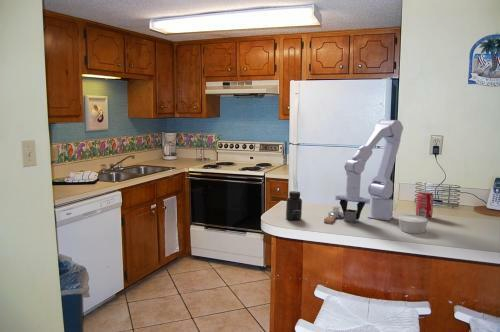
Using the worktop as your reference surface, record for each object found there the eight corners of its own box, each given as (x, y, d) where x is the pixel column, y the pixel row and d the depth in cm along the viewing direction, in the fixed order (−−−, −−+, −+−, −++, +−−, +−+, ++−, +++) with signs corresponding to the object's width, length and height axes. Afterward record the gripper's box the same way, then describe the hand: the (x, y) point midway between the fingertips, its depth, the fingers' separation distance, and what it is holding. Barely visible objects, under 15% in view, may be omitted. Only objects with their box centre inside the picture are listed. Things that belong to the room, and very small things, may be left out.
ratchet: (330, 213, 193) (331, 204, 192) (345, 215, 190) (346, 206, 189) (319, 222, 179) (319, 211, 178) (335, 224, 175) (335, 214, 175)
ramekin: (400, 234, 164) (401, 221, 163) (394, 226, 175) (395, 213, 174) (430, 235, 163) (431, 222, 162) (422, 227, 173) (423, 215, 173)
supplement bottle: (296, 221, 178) (297, 194, 177) (282, 219, 182) (283, 192, 181) (304, 218, 184) (305, 192, 182) (291, 215, 188) (292, 189, 186)
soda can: (429, 215, 193) (431, 190, 191) (434, 219, 186) (436, 193, 184) (413, 215, 194) (415, 189, 192) (418, 219, 187) (420, 192, 185)
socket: (358, 220, 182) (359, 210, 182) (355, 223, 178) (356, 212, 177) (347, 218, 185) (347, 209, 184) (344, 221, 180) (344, 211, 180)
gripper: (334, 186, 179) (332, 217, 181) (368, 190, 172) (366, 222, 174) (338, 184, 185) (337, 214, 187) (371, 187, 178) (370, 218, 180)
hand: (351, 217), depth 181 cm, fingers closed on socket, 5 cm apart
